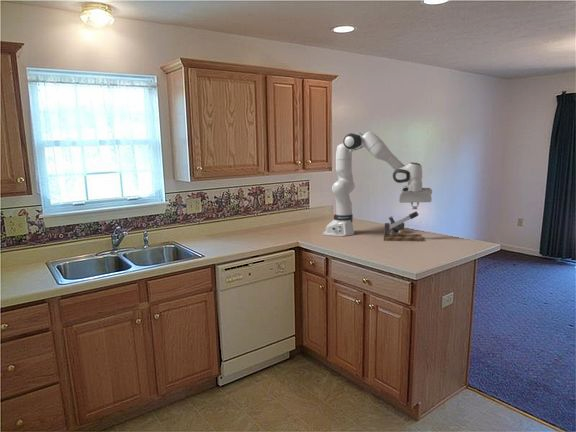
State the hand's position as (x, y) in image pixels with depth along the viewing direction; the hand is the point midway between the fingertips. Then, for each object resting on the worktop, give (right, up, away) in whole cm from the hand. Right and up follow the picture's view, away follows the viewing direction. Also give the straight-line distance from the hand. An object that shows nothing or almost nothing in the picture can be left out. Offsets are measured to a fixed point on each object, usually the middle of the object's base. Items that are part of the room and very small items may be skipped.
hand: (414, 209), depth 266 cm
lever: (-6, -8, +3) cm, 11 cm away
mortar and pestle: (-6, -17, +24) cm, 30 cm away
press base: (-7, -20, +5) cm, 21 cm away
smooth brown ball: (-8, -18, +5) cm, 20 cm away
